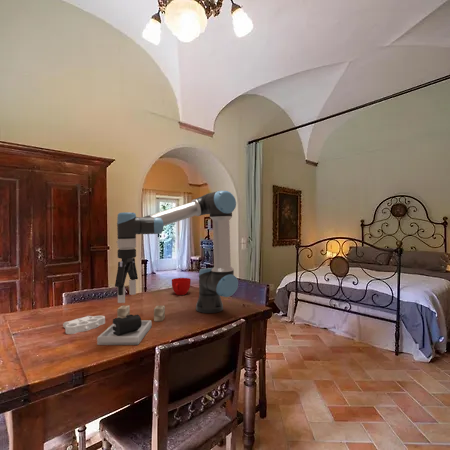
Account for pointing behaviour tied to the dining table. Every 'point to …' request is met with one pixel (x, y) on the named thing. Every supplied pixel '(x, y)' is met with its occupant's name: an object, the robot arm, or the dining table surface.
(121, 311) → the block
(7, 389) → the dining table surface
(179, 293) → the ceramic cup
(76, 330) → the muffin pan
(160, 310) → the block
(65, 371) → the dining table surface
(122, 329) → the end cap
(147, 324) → the tray
